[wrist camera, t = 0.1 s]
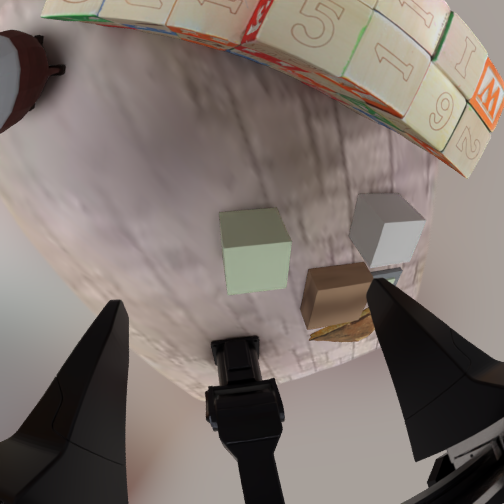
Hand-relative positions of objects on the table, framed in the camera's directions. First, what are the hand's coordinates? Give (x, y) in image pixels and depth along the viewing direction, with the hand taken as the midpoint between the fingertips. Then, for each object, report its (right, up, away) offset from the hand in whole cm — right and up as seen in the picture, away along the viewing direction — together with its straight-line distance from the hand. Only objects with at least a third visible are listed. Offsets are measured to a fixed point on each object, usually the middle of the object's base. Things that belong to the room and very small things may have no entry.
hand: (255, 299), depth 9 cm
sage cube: (0, +3, +16) cm, 17 cm away
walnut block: (+9, -2, +23) cm, 25 cm away
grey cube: (+12, +5, +17) cm, 22 cm away
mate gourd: (-16, +16, +3) cm, 23 cm away
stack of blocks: (0, +17, +5) cm, 18 cm away
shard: (+15, -10, +32) cm, 36 cm away
